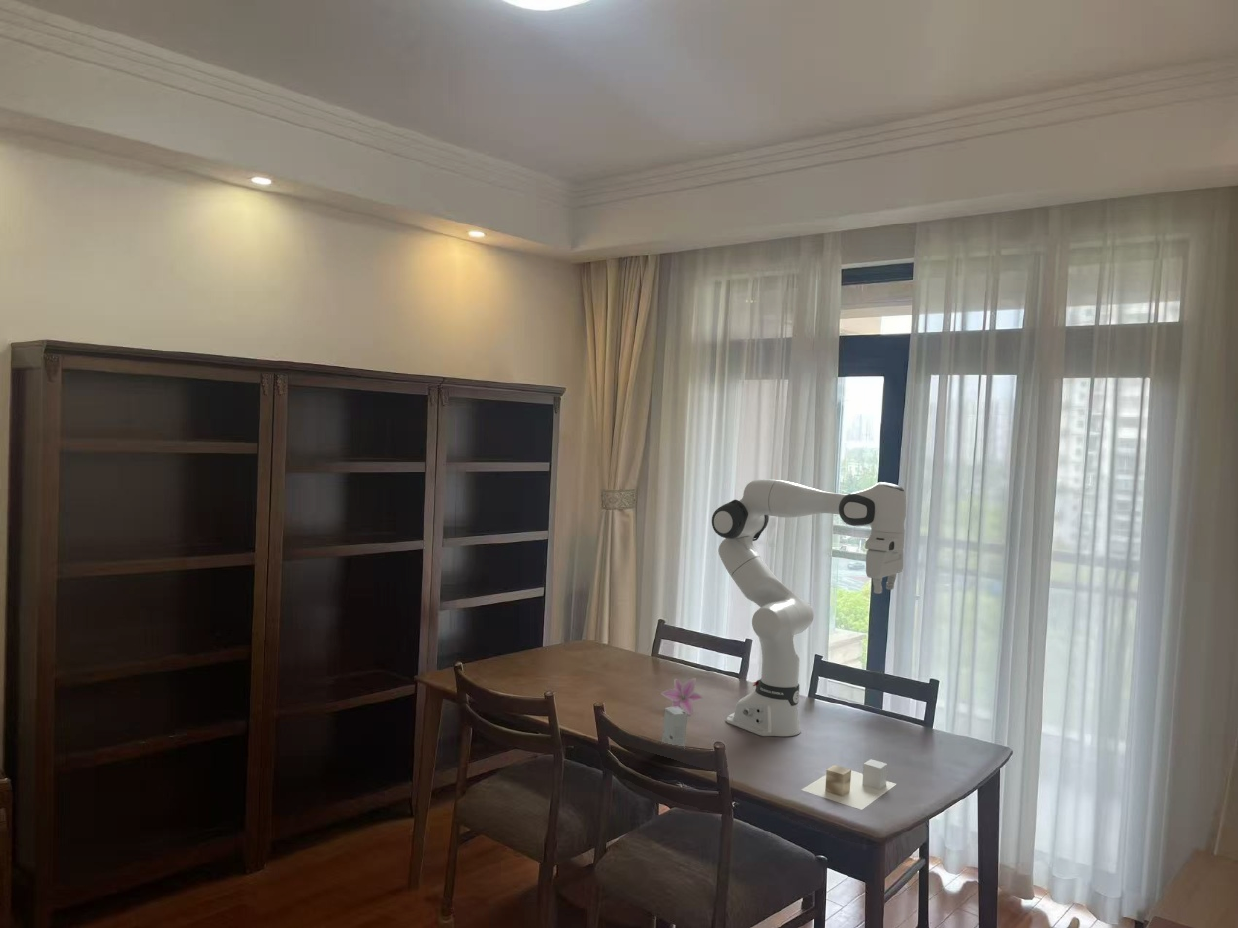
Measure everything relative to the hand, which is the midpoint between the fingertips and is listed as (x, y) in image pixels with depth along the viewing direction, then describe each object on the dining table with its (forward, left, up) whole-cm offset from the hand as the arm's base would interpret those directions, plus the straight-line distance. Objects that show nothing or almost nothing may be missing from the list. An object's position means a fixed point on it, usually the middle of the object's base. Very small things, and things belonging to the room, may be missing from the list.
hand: (883, 591), depth 243 cm
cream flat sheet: (+4, -25, -47) cm, 53 cm away
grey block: (+8, -19, -47) cm, 51 cm away
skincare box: (-41, -39, -47) cm, 73 cm away
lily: (-61, -6, -47) cm, 77 cm away
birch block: (+3, -30, -47) cm, 55 cm away
